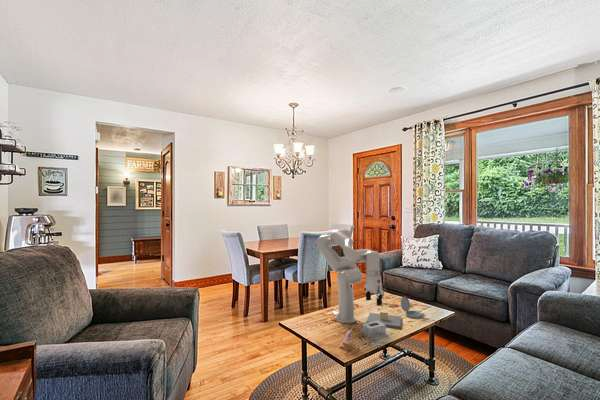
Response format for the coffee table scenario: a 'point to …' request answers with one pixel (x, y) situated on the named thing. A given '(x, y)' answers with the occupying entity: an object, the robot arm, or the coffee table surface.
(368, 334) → the slotted block
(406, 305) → the pocket watch
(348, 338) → the lily
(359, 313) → the coffee table surface
